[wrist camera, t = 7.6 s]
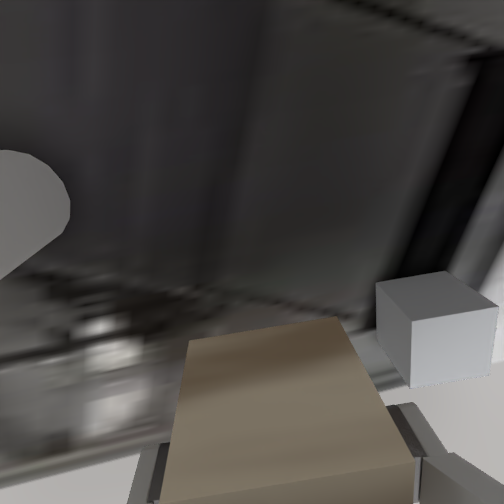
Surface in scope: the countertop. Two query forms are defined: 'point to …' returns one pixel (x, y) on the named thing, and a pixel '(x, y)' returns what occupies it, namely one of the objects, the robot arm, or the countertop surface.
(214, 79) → the countertop surface
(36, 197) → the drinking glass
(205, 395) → the ash block
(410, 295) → the grey block
